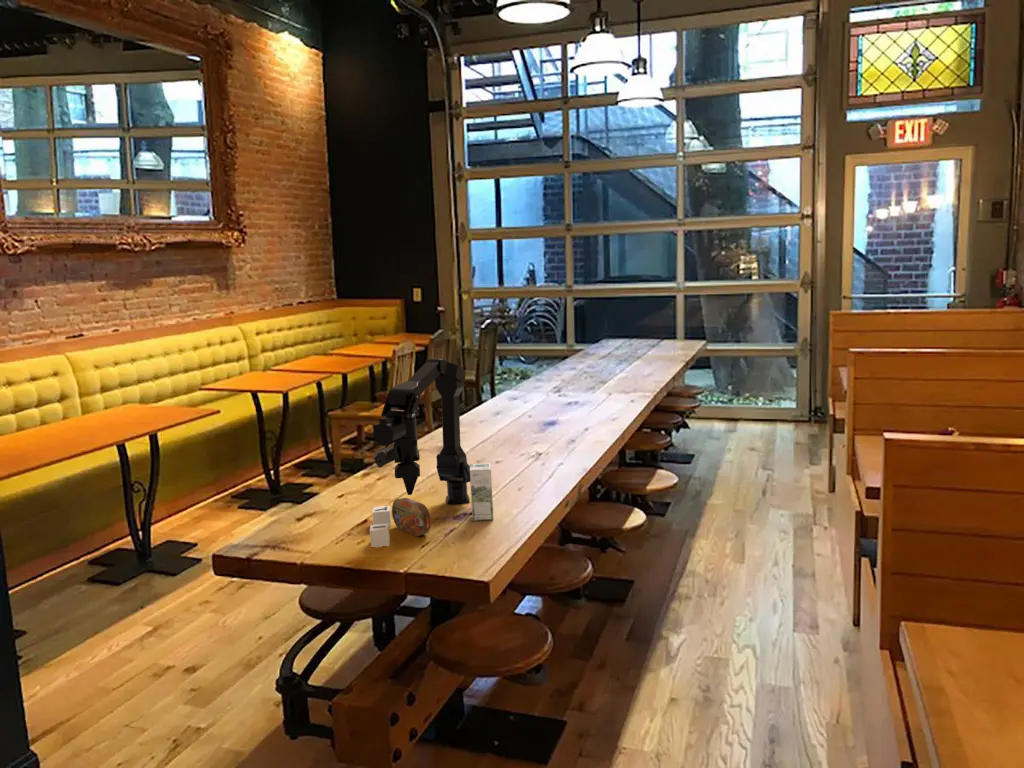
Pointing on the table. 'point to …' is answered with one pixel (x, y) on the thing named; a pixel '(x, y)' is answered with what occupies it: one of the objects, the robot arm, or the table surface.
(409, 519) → the tin
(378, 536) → the lettered block i
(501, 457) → the table surface
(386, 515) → the lettered block t
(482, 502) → the syrup box
